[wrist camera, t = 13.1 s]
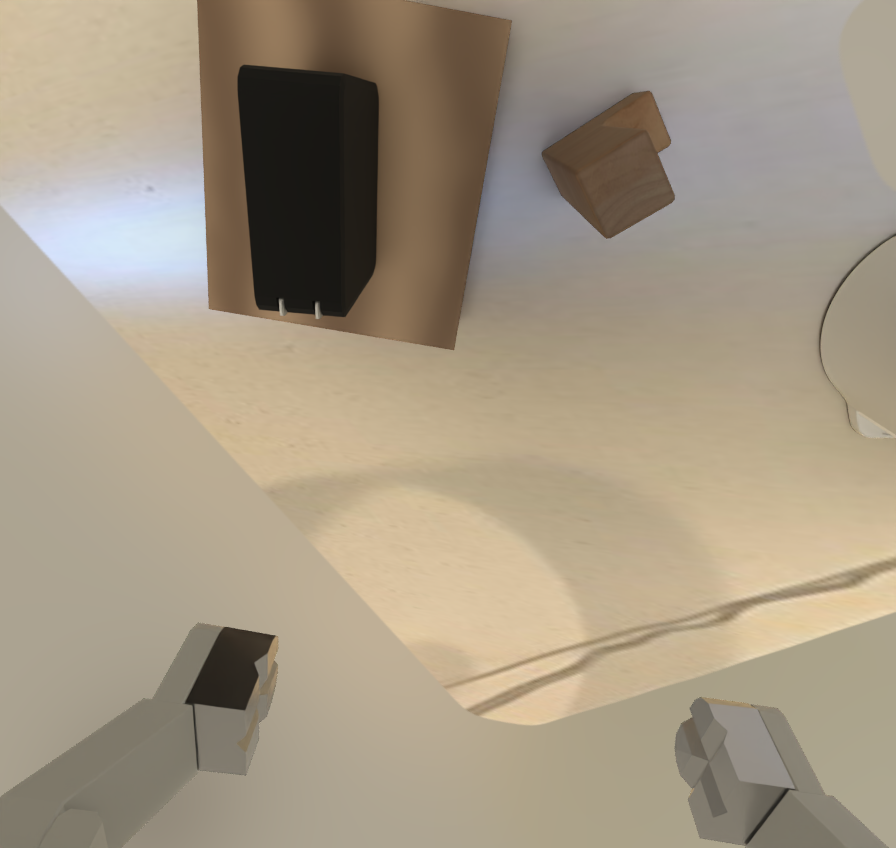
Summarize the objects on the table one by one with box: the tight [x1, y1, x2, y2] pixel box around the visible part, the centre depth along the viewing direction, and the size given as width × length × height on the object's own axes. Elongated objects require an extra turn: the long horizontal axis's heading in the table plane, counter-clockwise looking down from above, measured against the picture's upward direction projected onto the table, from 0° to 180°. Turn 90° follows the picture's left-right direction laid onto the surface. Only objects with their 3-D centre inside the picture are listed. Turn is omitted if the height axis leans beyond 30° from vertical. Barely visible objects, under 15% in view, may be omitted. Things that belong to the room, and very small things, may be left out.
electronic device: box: [237, 65, 379, 319], centre depth 29 cm, size 4×10×10 cm, turn 176°
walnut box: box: [197, 0, 512, 350], centre depth 36 cm, size 16×18×6 cm
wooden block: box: [542, 91, 675, 239], centre depth 31 cm, size 7×3×15 cm, turn 122°
